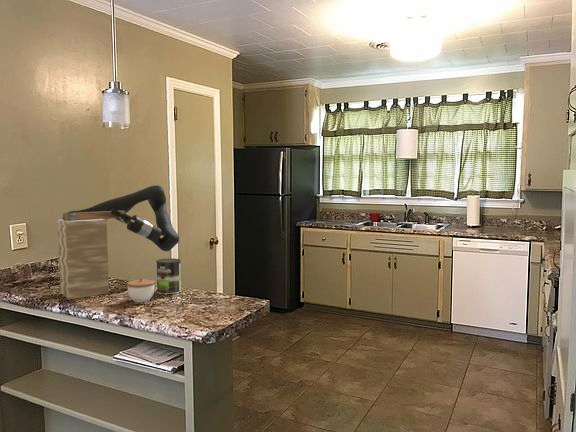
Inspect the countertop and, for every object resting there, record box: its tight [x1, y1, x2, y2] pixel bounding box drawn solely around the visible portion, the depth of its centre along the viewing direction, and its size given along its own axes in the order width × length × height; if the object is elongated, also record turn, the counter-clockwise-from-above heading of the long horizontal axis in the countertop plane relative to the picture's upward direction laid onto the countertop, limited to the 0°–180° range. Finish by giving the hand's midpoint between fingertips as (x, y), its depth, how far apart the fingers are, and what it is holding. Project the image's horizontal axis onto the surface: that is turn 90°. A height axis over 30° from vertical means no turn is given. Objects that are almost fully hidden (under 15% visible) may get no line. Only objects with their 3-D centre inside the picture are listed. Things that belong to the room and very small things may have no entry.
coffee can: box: [155, 257, 182, 296], centre depth 204 cm, size 10×10×14 cm
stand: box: [57, 219, 110, 300], centre depth 202 cm, size 14×16×32 cm
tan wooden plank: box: [62, 211, 125, 221], centre depth 204 cm, size 5×25×3 cm, turn 130°
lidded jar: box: [126, 277, 156, 304], centre depth 190 cm, size 11×11×9 cm
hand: (108, 210), depth 208 cm, fingers open, 8 cm apart
